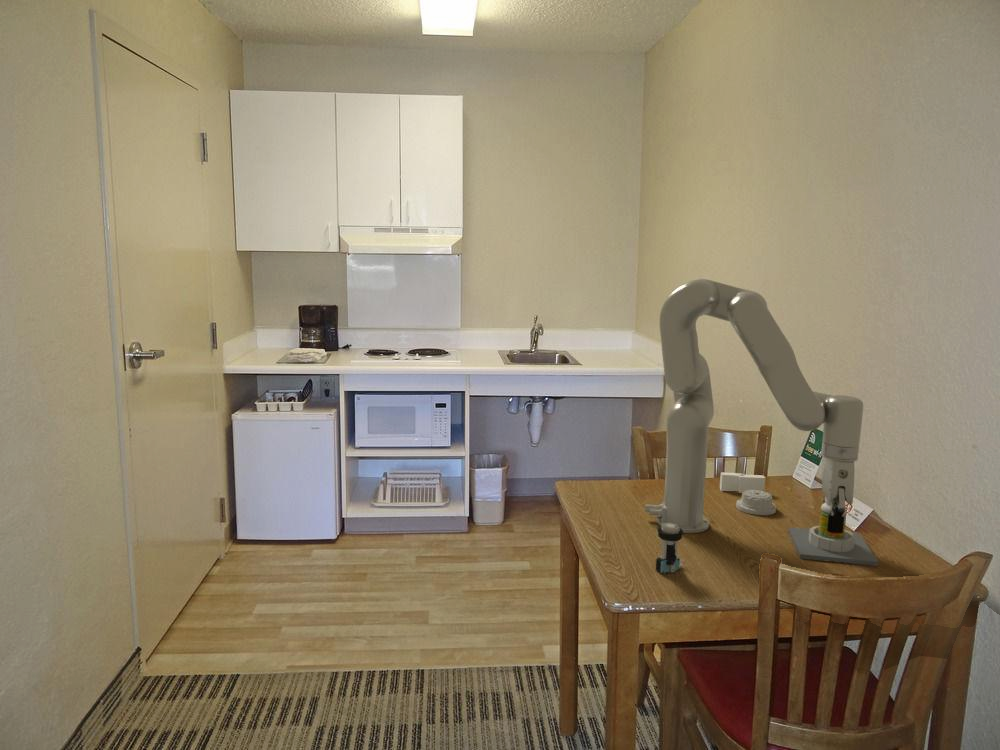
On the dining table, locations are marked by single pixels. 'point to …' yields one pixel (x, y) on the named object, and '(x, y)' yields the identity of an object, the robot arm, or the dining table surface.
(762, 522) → the dining table surface
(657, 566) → the push button
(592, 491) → the dining table surface
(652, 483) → the dining table surface
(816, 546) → the ring plate
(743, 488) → the napkin holder
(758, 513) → the mechanical component
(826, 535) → the supplement bottle
